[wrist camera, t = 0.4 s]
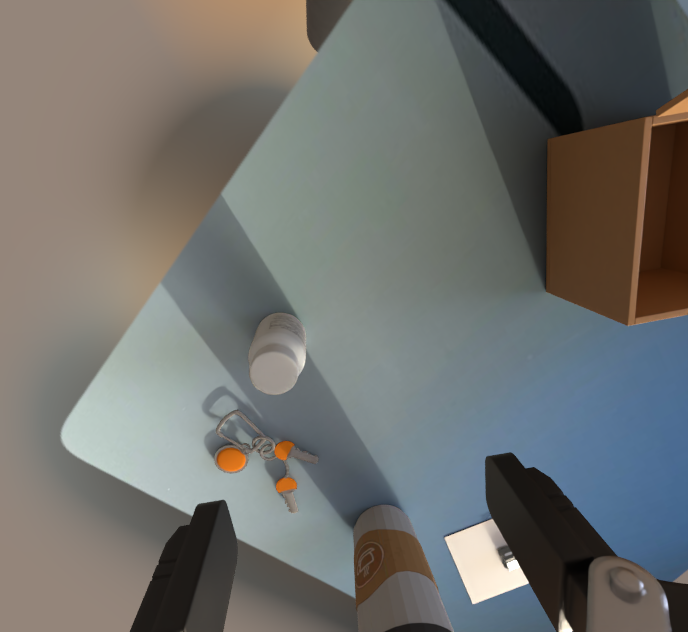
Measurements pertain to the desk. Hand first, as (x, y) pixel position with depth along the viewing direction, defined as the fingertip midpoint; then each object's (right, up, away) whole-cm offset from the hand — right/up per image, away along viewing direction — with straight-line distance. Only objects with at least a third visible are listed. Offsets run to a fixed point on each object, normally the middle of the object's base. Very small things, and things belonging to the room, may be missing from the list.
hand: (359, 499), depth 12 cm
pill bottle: (-6, +4, +23) cm, 24 cm away
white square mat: (+19, -22, +33) cm, 44 cm away
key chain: (-8, -9, +26) cm, 29 cm away
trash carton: (+22, +15, +21) cm, 34 cm away
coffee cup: (+4, -17, +30) cm, 35 cm away
